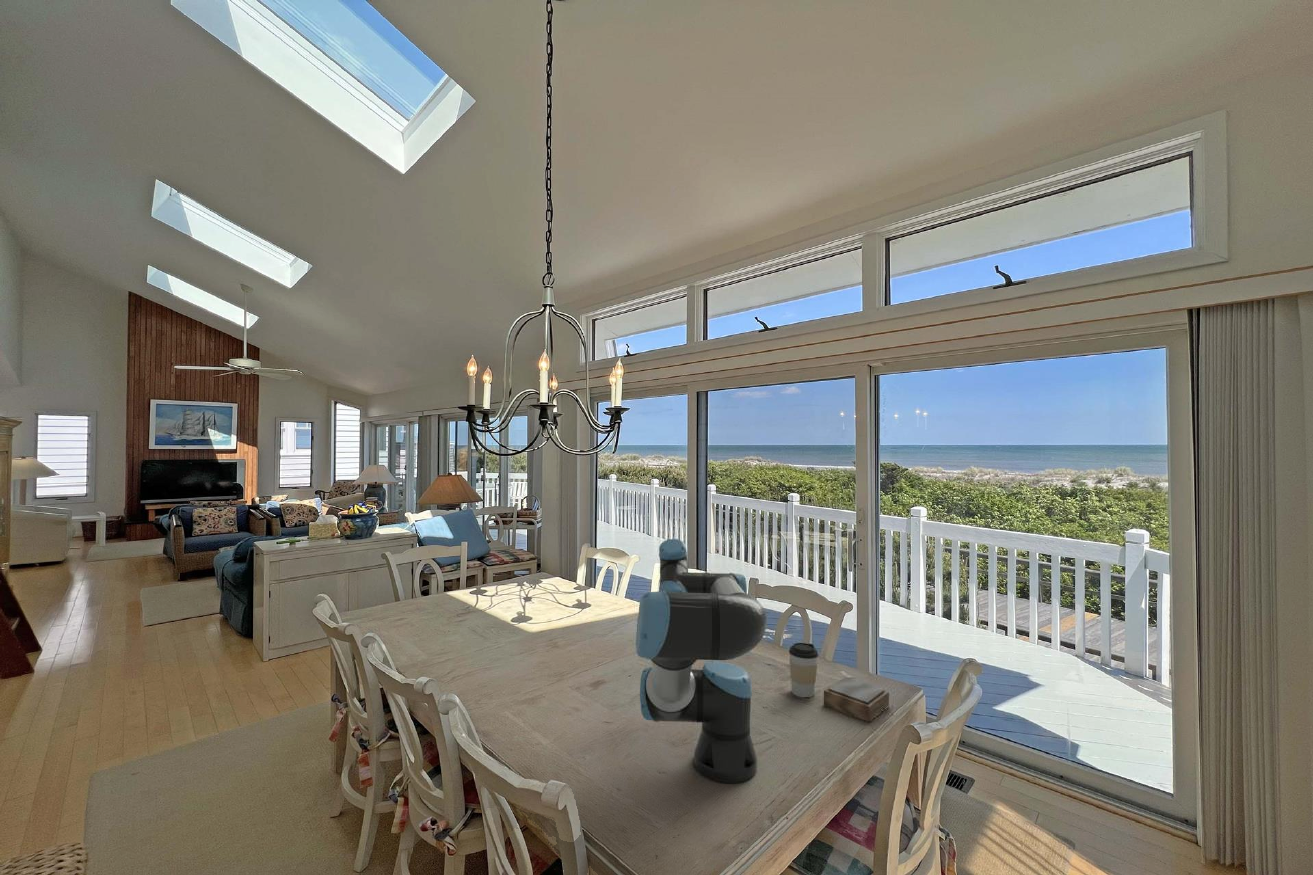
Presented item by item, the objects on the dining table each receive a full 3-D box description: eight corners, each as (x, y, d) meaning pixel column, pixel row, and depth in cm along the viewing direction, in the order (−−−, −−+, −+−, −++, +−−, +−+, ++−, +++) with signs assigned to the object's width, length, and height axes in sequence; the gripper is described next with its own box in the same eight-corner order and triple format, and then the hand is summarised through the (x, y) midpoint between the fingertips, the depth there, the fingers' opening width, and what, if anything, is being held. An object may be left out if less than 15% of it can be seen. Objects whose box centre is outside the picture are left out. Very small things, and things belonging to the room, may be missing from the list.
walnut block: (888, 706, 162) (889, 689, 162) (869, 722, 152) (869, 704, 152) (844, 690, 171) (844, 675, 172) (823, 704, 162) (823, 688, 162)
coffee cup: (797, 700, 164) (798, 651, 164) (782, 687, 173) (783, 641, 173) (823, 697, 166) (824, 649, 167) (807, 685, 175) (808, 639, 175)
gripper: (716, 572, 155) (719, 626, 164) (631, 585, 153) (639, 638, 163) (722, 590, 148) (725, 645, 158) (633, 604, 146) (641, 658, 156)
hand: (681, 642), depth 160 cm, fingers open, 13 cm apart
